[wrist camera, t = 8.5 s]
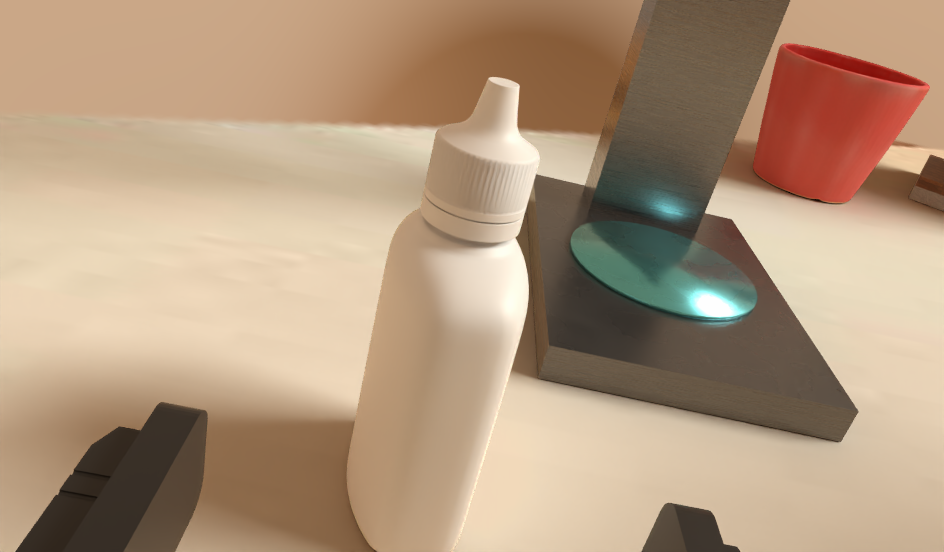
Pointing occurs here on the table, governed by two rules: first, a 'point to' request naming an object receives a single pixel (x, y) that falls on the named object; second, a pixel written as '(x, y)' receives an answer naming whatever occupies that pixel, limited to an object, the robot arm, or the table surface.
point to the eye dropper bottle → (444, 334)
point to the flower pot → (830, 121)
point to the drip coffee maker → (930, 184)
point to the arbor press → (674, 241)
